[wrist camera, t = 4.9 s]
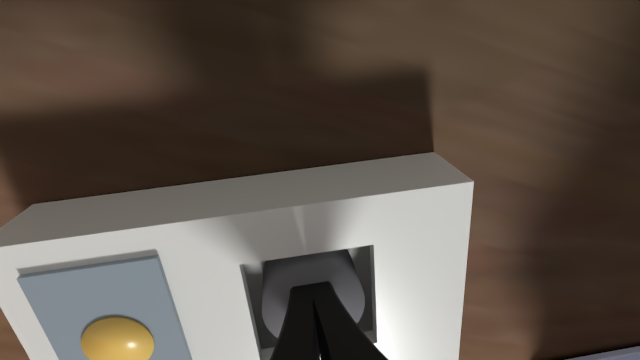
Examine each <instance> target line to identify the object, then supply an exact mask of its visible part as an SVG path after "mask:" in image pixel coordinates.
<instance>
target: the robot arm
mask: <svg viewBox="0 0 640 360" xmlns="http://www.w3.org/2000/svg"><path fill="white" fill-rule="evenodd" d="M320 358H321V360H388V359H387V358H386V357H385V356H384V355H383V354H382V353H381V352H380V350H379V349H378V348H377V347H376V346H375V345H374V344H373V343H372V342H371V341H370V339H369V338H368V337H367V336H366V335H365V333H364V332H363V331H362V330H361V329H360V327H359V326H358V325H357V323H356V322H355V321H354V319H353V318H352V317H351V315H350V314H349V313H348V311H347V310H346V308H345V307H344V305H343V304H342V302H341V301H340V299H339V297H338V296H337V294H336V292H335V290H334V288H333V286H332V284H331V283H330V282H329V281H326V282H319V283H313V284H307V285H300V286H294V287H292V288H291V289H290V296H289V302H288V307H287V311H286V315H285V318H284V321H283V325H282V328H281V331H280V334H279V337H278V340H277V342H276V345H275V347H274V350H273V353H272V355H271V358H270V360H320ZM566 360H640V346H637V347H631V348H626V349H620V350H615V351H610V352H604V353H599V354H593V355H588V356H582V357H577V358H571V359H566Z"/></svg>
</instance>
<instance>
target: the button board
mask: <svg viewBox="0 0 640 360" xmlns="http://www.w3.org/2000/svg"><path fill="white" fill-rule="evenodd" d="M473 185H474V181H473V180H471V179H470V178H469V177H467V176H466V175H465V174H463V173H462V172H461V171H459V170H458V169H457V168H455V167H454V166H453V165H451V164H450V163H449V162H447V161H446V160H445V159H443V158H442V157H441V156H439V155H438V154H437V153H435V152H430V153H422V154H414V155H407V156H399V157H391V158H384V159H376V160H368V161H361V162H353V163H345V164H338V165H330V166H322V167H314V168H307V169H299V170H291V171H284V172H276V173H268V174H261V175H253V176H245V177H238V178H230V179H222V180H215V181H207V182H199V183H192V184H184V185H176V186H168V187H161V188H153V189H145V190H138V191H130V192H122V193H115V194H107V195H99V196H92V197H84V198H76V199H69V200H61V201H53V202H46V203H38V204H32V205H31V206H30V207H28V208H27V209H26V210H24V211H23V212H22V213H20V214H19V215H17V216H16V217H15V218H13V219H12V220H11V221H9V222H8V223H7V224H5V225H4V226H2V227H1V228H0V307H1V309H2V311H3V312H4V314H5V316H6V318H7V319H8V321H9V323H10V325H11V326H12V328H13V330H14V332H15V333H16V335H17V337H18V339H19V340H20V342H21V344H22V346H23V347H24V349H25V351H26V353H27V354H28V356H29V358H30V360H270V358H271V355H272V353H273V350H274V347H275V345H276V342H277V340H278V338H277V337H275V336H274V335H273V334H272V333H271V332H270V331H269V330H268V328H267V327H266V325H265V323H264V320H263V317H262V287H263V268H264V264H265V261H268V260H274V259H281V258H288V257H294V256H301V255H308V254H314V253H321V252H328V251H335V250H341V249H347V250H348V251H349V253H350V255H351V258H352V261H353V264H354V266H355V269H356V272H357V275H358V278H359V281H360V284H361V286H362V289H363V292H364V297H365V306H364V311H363V314H362V316H361V318H360V320H359V322H358V323H357V325H358V326H359V327H360V329H361V330H362V331H363V332H364V333H365V335H366V336H367V337H368V338H369V339H370V341H371V342H372V343H373V344H374V345H375V346H376V347H377V348H378V349H379V350H380V352H381V353H382V354H383V355H384V356H385V357H386V358H387V359H388V360H458V357H459V345H460V334H461V323H462V311H463V300H464V288H465V277H466V265H467V254H468V242H469V231H470V220H471V208H472V197H473ZM320 360H321V358H320Z"/></svg>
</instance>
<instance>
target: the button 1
mask: <svg viewBox="0 0 640 360" xmlns="http://www.w3.org/2000/svg"><path fill="white" fill-rule="evenodd" d="M326 281H329V282H330V283H331V284H332V286H333V288H334V290H335V292H336V294H337V296H338V297H339V299H340V301H341V302H342V304H343V305H344V307H345V308H346V310H347V311H348V313H349V314H350V315H351V317H352V318H353V319H354V321H355V322H356V323H358V322H359V320H360V318H361V316H362V314H363V311H364V306H365V297H364V292H363V289H362V286H361V284H360V281H359V278H358V275H357V272H356V269H355V266H354V264H353V261H352V258H351V255H350V253H349V251H348V250H347V249H341V250H335V251H328V252H321V253H314V254H308V255H301V256H294V257H288V258H281V259H274V260H268V261H265V264H264V268H263V287H262V317H263V320H264V323H265V325H266V327H267V328H268V330H269V331H270V332H271V333H272V334H273V335H274V336H275V337H277V338H278V337H279V334H280V331H281V328H282V325H283V321H284V318H285V315H286V311H287V307H288V302H289V296H290V289H291V288H292V287H294V286H300V285H307V284H313V283H319V282H326Z"/></svg>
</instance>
